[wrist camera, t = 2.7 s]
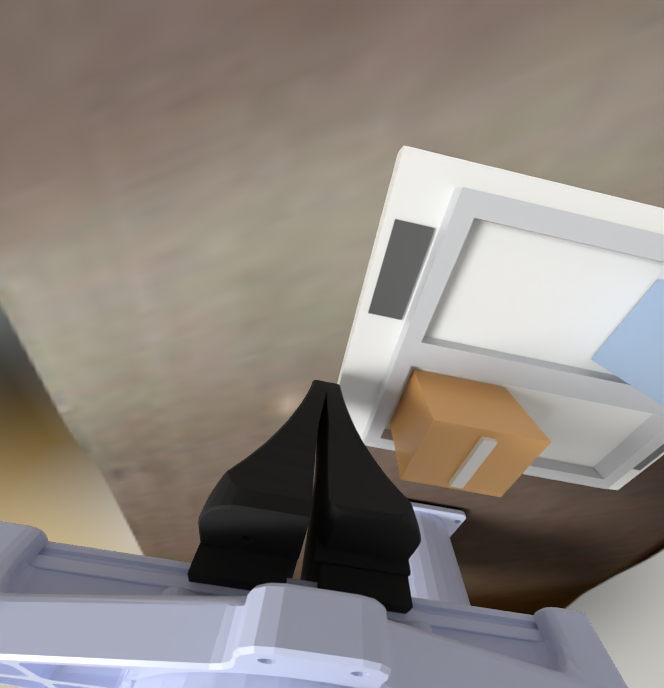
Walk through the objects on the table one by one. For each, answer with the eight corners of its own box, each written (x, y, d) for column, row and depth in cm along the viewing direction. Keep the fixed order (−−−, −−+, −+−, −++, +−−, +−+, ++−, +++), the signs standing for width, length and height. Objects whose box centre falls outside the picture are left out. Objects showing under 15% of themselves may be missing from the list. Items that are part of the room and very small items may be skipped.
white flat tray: (602, 473, 18) (629, 502, 16) (326, 422, 17) (324, 447, 15) (851, 260, 11) (947, 272, 9) (398, 151, 10) (409, 140, 8)
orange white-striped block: (470, 438, 15) (502, 501, 12) (390, 423, 15) (401, 483, 12) (505, 387, 13) (555, 446, 10) (413, 369, 13) (434, 423, 10)
